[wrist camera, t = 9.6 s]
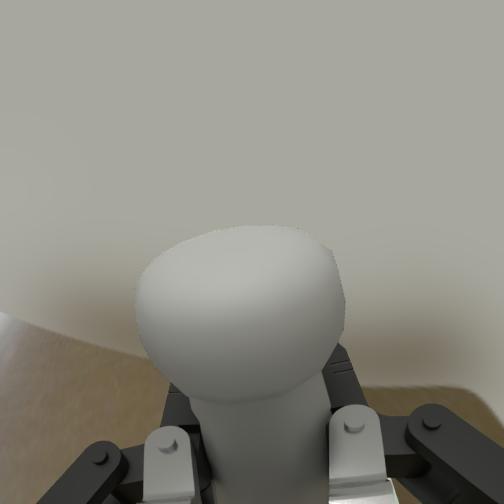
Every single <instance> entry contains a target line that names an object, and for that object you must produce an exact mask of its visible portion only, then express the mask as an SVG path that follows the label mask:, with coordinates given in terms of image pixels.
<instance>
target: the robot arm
mask: <svg viewBox="0 0 504 504" xmlns="http://www.w3.org/2000/svg"><path fill="white" fill-rule="evenodd" d="M321 372H322V375H323V379H324V382H325V386H326V389H327V393H328V397H329V400H330V404H331V408H330V410H331V412H332V415H333V416H332V417H331V419H330V421H329V422H328V423H327V425H326V436H327V453H328V480H327V504H395V503H394V492H393V486H392V483H391V481H390V480H388V479H387V478H396V480H398V481H399V482H400V483H401V484H402V485H403V486H404V487H405V488H406V489H407V490H408V491H409V492H410V493H412V494H413V495H414V496H415V497H416V498H417V499H418V500H419V501H420V502H421V503H423V504H504V449H503V448H502V447H501V446H499V445H498V444H496V443H495V442H493V441H492V440H491V439H489V438H488V437H486V436H485V435H484V434H482V433H481V432H479V431H478V430H477V429H475V428H474V427H472V426H471V425H470V424H468V423H467V422H465V421H464V420H463V419H461V418H460V417H458V416H457V415H456V414H454V413H453V412H451V411H450V410H449V409H447V408H446V407H444V406H442V405H439V404H425V405H422V406H420V407H418V408H417V409H415V410H414V411H413V412H412V414H411V415H410V416H384V415H381V414H378V413H376V412H375V411H374V410H372V409H371V408H370V407H369V406H368V404H367V402H366V400H365V397H364V395H363V392H362V390H361V387H360V384H359V382H358V380H357V377H356V374H355V372H354V370H353V367H352V364H351V362H350V359H349V357H348V354H347V352H346V349H345V348H343V347H342V346H341V345H340V344H339V343H337V345H336V347H335V349H334V350H333V352H332V354H331V355H330V357H329V359H328V361H327V362H326V364H325V366H324V367H323V369H322V371H321ZM36 504H218V501H217V495H216V489H215V483H214V479H213V477H212V469H211V466H210V463H209V461H208V458H207V455H206V451H205V447H204V443H203V439H202V434H201V427H200V422H199V420H198V419H197V417H196V416H195V414H194V413H193V411H192V410H191V404H190V399H189V397H187V396H186V395H185V394H183V393H182V392H181V391H180V390H179V389H178V388H177V387H176V386H174V385H173V384H172V383H171V385H170V387H169V394H168V396H167V400H166V404H165V408H164V412H163V417H162V421H161V425H160V428H159V429H157V430H155V431H153V432H152V433H151V434H150V435H149V436H148V438H147V439H146V442H145V443H144V444H142V445H138V446H134V447H130V448H125V449H121V450H120V449H119V448H118V447H117V446H116V445H115V444H114V443H112V442H109V441H98V442H95V443H93V444H91V445H90V446H89V447H87V448H86V449H85V451H84V452H83V453H82V454H81V455H80V456H79V457H78V458H77V459H76V461H75V462H74V463H73V464H72V465H71V466H70V467H69V468H68V469H67V470H66V472H65V473H64V474H63V475H62V476H61V477H60V478H59V479H58V480H57V481H56V483H55V484H54V485H53V486H52V487H51V488H50V489H49V490H48V491H47V492H46V493H45V495H44V496H43V497H42V498H41V499H40V500H39V501H38V502H37V503H36Z"/></svg>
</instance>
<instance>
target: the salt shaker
mask: <svg viewBox="0 0 504 504" xmlns="http://www.w3.org/2000/svg"><path fill="white" fill-rule="evenodd" d="M134 305H135V315H136V320H137V325H138V330H139V335H140V340H141V342H142V344H143V346H144V348H145V350H146V352H147V354H148V356H149V358H150V360H151V362H152V364H153V365H154V366H155V367H156V368H157V369H158V370H159V371H160V372H161V373H162V374H163V375H164V376H165V377H166V378H167V379H168V380H169V381H170V382H171V383H172V384H173V385H174V386H176V387H177V388H178V389H179V390H180V391H181V392H182V393H183V394H185V395H186V396H187V397H189V399H190V404H191V410H192V411H193V413H194V414H195V416H196V417H197V419H198V420H199V422H200V427H201V434H202V439H203V443H204V447H205V451H206V455H207V458H208V461H209V463H210V466H211V469H212V477H213V479H214V483H215V489H216V495H217V501H218V504H327V480H328V453H327V436H326V425H327V423H328V422H329V421H330V419H331V417H332V416H333V415H332V412H331V410H330V408H331V404H330V400H329V397H328V393H327V389H326V386H325V382H324V379H323V375H322V372H321V371H322V369H323V367H324V366H325V364H326V362H327V361H328V359H329V357H330V355H331V354H332V352H333V350H334V349H335V347H336V345H337V343H338V341H339V339H340V337H341V334H342V332H343V330H344V318H345V317H344V316H345V298H344V293H343V289H342V284H341V280H340V276H339V271H338V268H337V265H336V262H335V259H334V256H333V253H332V251H331V250H330V249H329V248H327V247H326V246H324V245H323V244H322V243H320V242H319V241H318V240H317V239H315V238H314V237H312V236H310V235H308V234H307V233H305V232H303V231H301V230H299V229H298V228H291V227H283V226H276V225H257V226H239V227H233V228H227V229H221V230H216V231H211V232H209V233H206V234H203V235H200V236H197V237H194V238H191V239H189V240H186V241H183V242H181V243H179V244H177V245H175V246H174V247H172V248H171V249H168V250H167V251H165V252H163V253H161V254H160V255H158V256H157V257H156V258H155V259H154V260H153V261H152V262H151V264H150V265H149V266H148V267H147V268H146V269H145V270H144V272H143V273H142V275H141V277H140V279H139V281H138V283H137V285H136V287H135V288H134Z"/></svg>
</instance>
